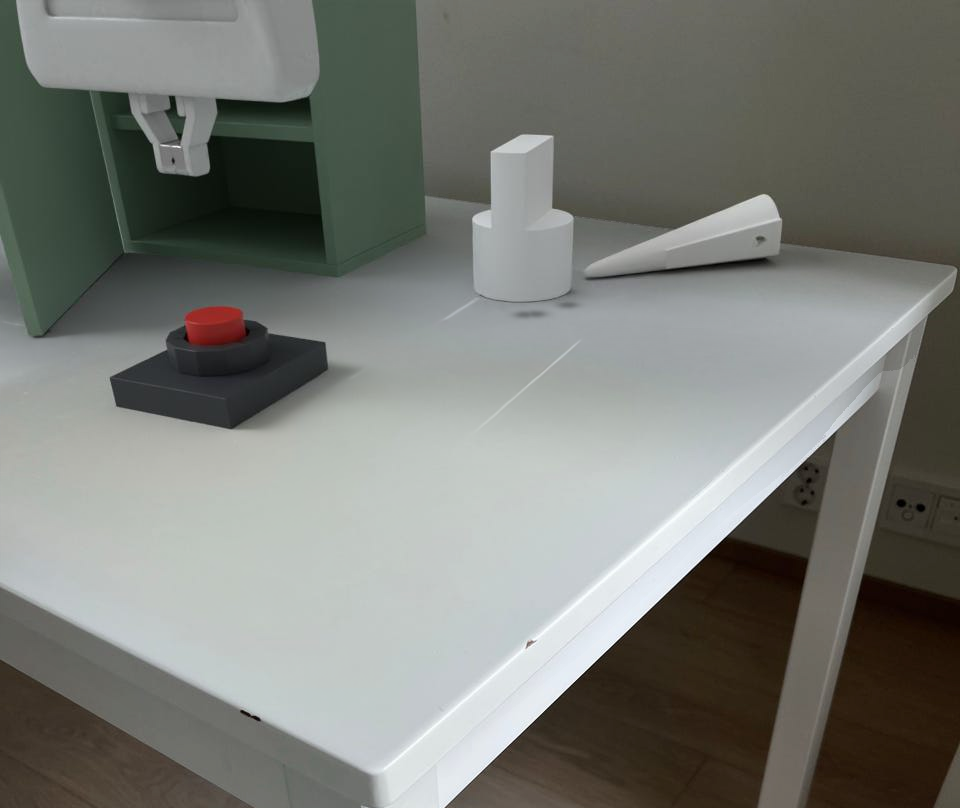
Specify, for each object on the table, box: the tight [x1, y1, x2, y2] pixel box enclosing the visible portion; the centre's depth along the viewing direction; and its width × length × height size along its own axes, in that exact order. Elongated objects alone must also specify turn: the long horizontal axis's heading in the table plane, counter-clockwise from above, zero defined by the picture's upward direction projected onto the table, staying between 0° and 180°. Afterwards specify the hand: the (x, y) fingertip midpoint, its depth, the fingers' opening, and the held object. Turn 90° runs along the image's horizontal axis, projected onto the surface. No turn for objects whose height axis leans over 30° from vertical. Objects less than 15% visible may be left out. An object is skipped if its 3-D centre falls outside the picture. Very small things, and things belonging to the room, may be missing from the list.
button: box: [184, 305, 246, 345], centre depth 70 cm, size 4×4×2 cm
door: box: [0, 0, 125, 337], centre depth 86 cm, size 7×26×24 cm, turn 2°
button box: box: [109, 319, 329, 430], centre depth 72 cm, size 12×10×4 cm
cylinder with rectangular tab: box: [471, 134, 575, 303], centre depth 89 cm, size 9×9×12 cm
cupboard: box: [89, 0, 427, 278], centre depth 100 cm, size 18×26×24 cm
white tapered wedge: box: [583, 193, 783, 278], centre depth 96 cm, size 6×6×19 cm
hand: (184, 173), depth 64 cm, fingers closed
